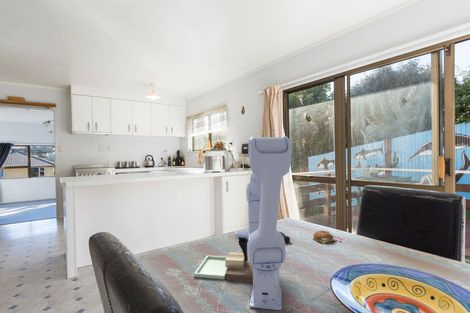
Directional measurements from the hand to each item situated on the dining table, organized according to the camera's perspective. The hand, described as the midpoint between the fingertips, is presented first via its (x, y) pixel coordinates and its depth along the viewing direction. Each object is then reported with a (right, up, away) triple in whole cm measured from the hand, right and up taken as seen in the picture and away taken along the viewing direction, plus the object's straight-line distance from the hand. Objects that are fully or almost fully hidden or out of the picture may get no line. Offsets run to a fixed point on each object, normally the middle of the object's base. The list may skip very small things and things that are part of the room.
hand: (257, 261), depth 80 cm
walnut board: (-5, -4, +1) cm, 6 cm away
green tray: (-15, -4, +3) cm, 15 cm away
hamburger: (+34, -3, +28) cm, 44 cm away
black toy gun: (+6, -4, +30) cm, 31 cm away
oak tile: (-7, -2, +1) cm, 8 cm away
